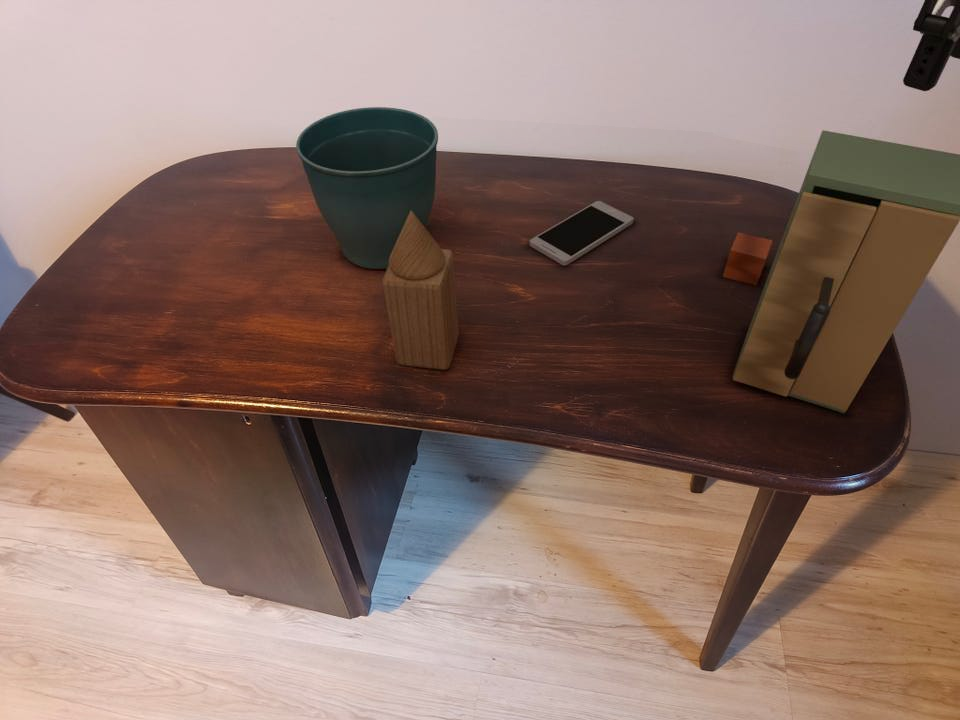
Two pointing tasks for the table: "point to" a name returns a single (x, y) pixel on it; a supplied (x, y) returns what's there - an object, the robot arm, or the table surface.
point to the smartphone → (581, 232)
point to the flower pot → (370, 176)
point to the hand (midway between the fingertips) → (940, 72)
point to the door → (802, 290)
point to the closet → (874, 252)
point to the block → (747, 258)
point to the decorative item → (421, 299)
